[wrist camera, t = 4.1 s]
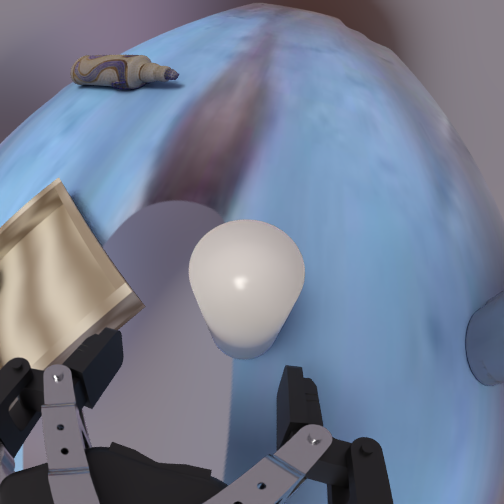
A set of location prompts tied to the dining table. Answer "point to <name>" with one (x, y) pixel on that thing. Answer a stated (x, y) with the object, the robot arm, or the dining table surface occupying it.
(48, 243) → the tray
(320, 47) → the dining table surface
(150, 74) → the decorative bottle
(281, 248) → the white dome-topped cylinder
